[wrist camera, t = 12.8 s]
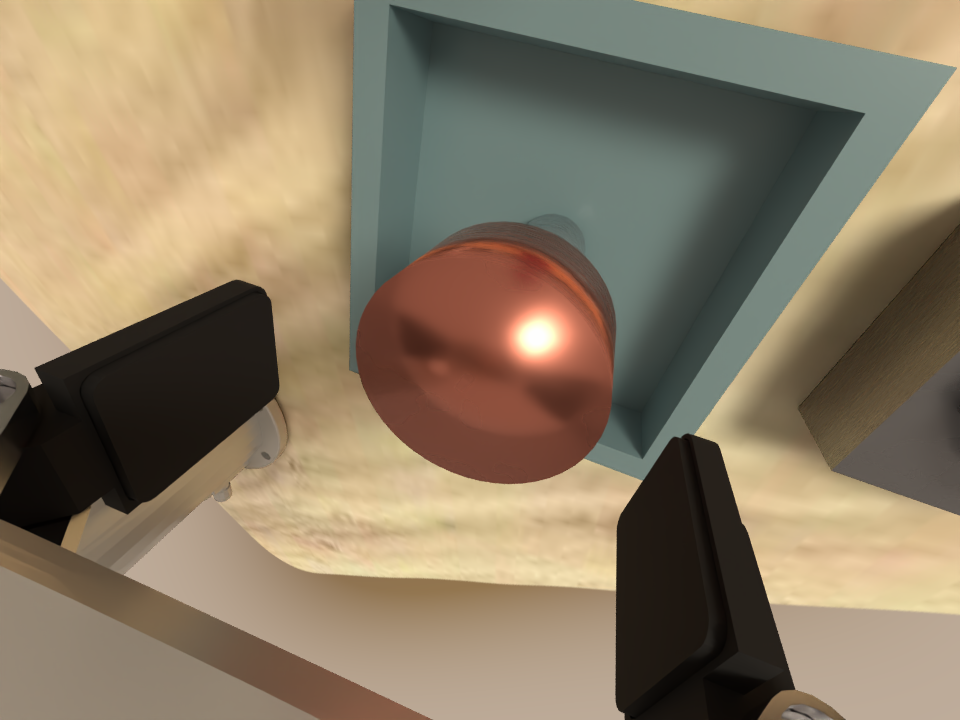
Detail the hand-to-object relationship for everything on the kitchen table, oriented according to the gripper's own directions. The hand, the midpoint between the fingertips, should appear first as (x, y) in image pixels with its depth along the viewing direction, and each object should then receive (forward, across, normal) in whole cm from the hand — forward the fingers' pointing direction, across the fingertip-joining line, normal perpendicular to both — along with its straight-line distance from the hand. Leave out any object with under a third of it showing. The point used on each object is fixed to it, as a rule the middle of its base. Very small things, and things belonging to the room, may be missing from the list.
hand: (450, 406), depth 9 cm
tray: (+12, -1, -1) cm, 12 cm away
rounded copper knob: (+11, -1, -1) cm, 11 cm away
